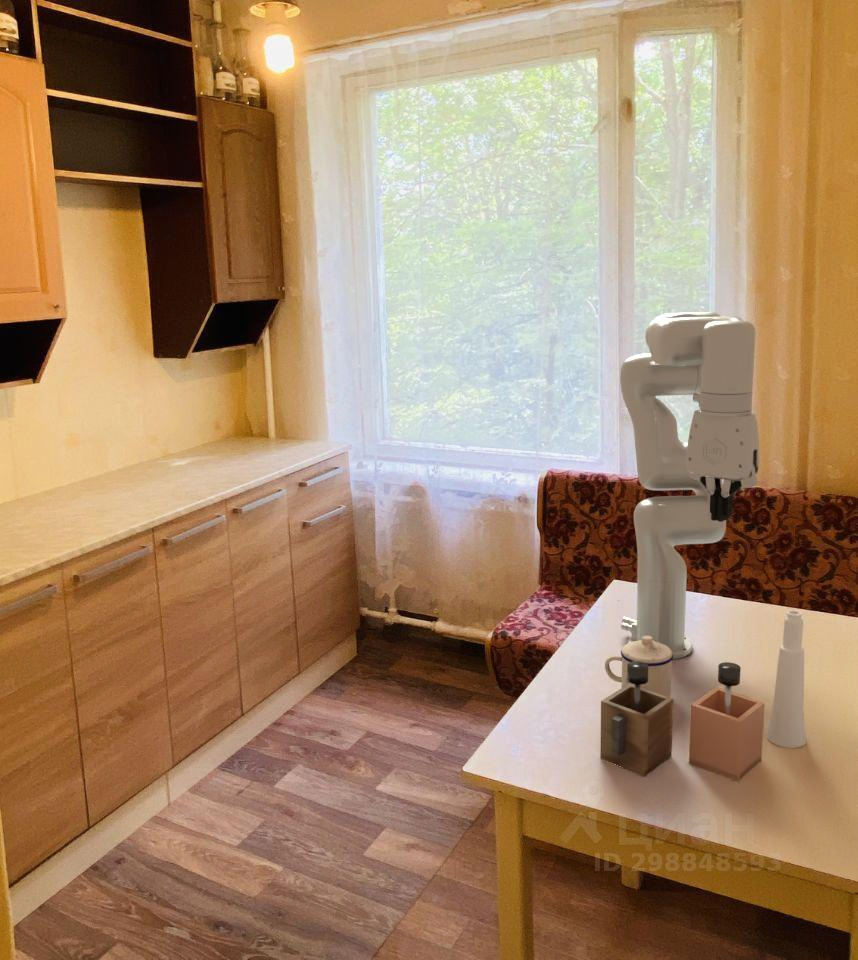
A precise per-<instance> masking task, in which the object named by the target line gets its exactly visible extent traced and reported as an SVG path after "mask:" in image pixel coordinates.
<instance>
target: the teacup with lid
mask: <svg viewBox="0 0 858 960" xmlns="http://www.w3.org/2000/svg"><path fill="white" fill-rule="evenodd" d="M673 660H674V659H673V653H672V651H671V649H670V648H669V647H667V646H666V645H664V644H662V643H658V642H655V641H653V638H652V637H651V636H643V637H642V638H641V640H639V641H633V642H630V643H628V642H627V643H626V644H625V645H624V646H623V647H622V648H621V650H620V654H618V655H617V654H614V655H610V656H608V657H607V658H606V659H605V663H604V671H605V673H606V674H607V676H608V677H609V678H610V679H611V680H612V681H615V683H616V682H617V683H621V688H623V687H624V686H626V685H628V684H632V683H630V682H628V681H627V664H628V663H630V662H633V661H640V662H644V663H646V664H648V666H649V670H648V682H647V683H646V684H642V685H640V687H641V688H644V689H647V690H650V691H652V692H655V693H658V694H661V695H664V696H667V697H670V698H672V696H671V691H672V690H671V689H672V665H673V664H672V661H673ZM613 661H618V662H621V676H617V675H616V674H614V673H613V672H612V670H611V668H610V662H613ZM632 685H635V684H632Z"/></svg>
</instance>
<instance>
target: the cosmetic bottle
mask: <svg viewBox="0 0 858 960" xmlns="http://www.w3.org/2000/svg"><path fill="white" fill-rule="evenodd" d="M802 616H803V613H802V612H801V611H798V610H793V609H792V610H791V609H790V610H787V611H786V616H785V618H784V620H783V621H784V622H783V635H782V636H783V637H782V643H781V644H780V645H779V651H778V658H777V659H778V660H777V667H776V668H777V669H776V675H775V685H774V693H773V700H772V708H771V712H770V713H771V714H770V719H769V722H768V727H767V731H766V734H765V736H766V738H767V740H768V741H769V742H771V744H774V745H777V746H779V747H782V748H786V749H797V748H801V747H803V746H805V745H806V743H807V736H806V727H805V707H804V706H805V705H804V703H805V699H804V697H805V696H804V695H805V694H804V693H805V648H804V647H803V646H802V645H803V631H804V619H803V618H802Z"/></svg>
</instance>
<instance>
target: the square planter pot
mask: <svg viewBox="0 0 858 960" xmlns="http://www.w3.org/2000/svg"><path fill="white" fill-rule="evenodd" d="M765 706H766V705H765V702H764V701H760V700H758V699H754V698H751V697H749V696H746V695H745V694H744V695H743V694H739V693H736V692H734V691H731V712H730V715H727V714H724V708H725V689H724V688H720V687H718V686H715V687H714V688H713V689H711V690H709V692H707V693H706V694H704V695H703V696H701V697H700V698H699V699H697V700H696V701H694V702H693V703H691V704H690V717H689V718H690V722H689V747H688V748H689V749H688V750H689V751H688V764H690V765H692V766H694V767H698V768H700V769H702V770H704V771H707V772H710V773H712V774H715V775H717V776H719V777H723V778H725V779H728V780H730V781H731V782H736V783H739V782H740V781H741V780H742V779H743V778H744V777H745V776H747V774H749V773H750V772H751V771H752V770H753V769H754V768H755V767H756V766H757V765H758V764H760V763H761V762H762V756H763V755H762V753H763V738H764V721H765V718H764V717H765Z"/></svg>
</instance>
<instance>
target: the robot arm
mask: <svg viewBox="0 0 858 960" xmlns="http://www.w3.org/2000/svg"><path fill="white" fill-rule="evenodd" d="M645 343H646V345H647V347H648V350H649V353H648V352H647V353H640V354H635V355H632V356H630V357H628V358H627V359H625V360H624V362H623V363H622V364H621V367H620V373H619V384H620V390H621V395H622V397H623V402H624V404H625V406H626V410H627V411H628V414H629V416H630V418H631V419H630V420H631V422H632V427H633V435H634V449H635V460H636V461H635V462H636V470H637V477H638V481H639V483H640V485H641V486H642V487H643V488H644V489H646V490H649V491H689V490H692V491H693V492H694V493H695V495H668V496H667V495H666V496H663V495H662V496H652V497H648V498H645V499H642V500H641V501H639V502H638V503H637V505H635V508H634V510H633V524H634V525H633V526H634V530H635V537H636V538H635V541H636V549H637V552H636V553H637V554H636V555H637V572H636V573H637V580H636V581H637V582H636V583H637V586H636V587H637V588H636V589H637V590H636V619H634V618H632V617H629V616H623V618H622V621H621V626H620V628H621V630H624V631H628V632H630V633H631V635H630V636H629V637H628V640H627V641H628V642H627V643H630V642H633V641H639V640H641V638H642V637H643V636H651V637H652V638H653V641H655V642H658V643H662V644H664V645H666V646H667V647H669V648H670V649H671V651H672V653H673V659H672V660H675V659H680V658H683V657H686V656H687V655H690V653H692V650H693V642H692V641H691V640H690V639H689V638H688V637H687V636H686V634H685V633H686V632H685V631H686V629H685V628H686V607H687V606H686V604H687V603H686V602H687V600H686V598H687V575H688V574H687V573H688V572H687V564H686V562H685V560H684V558H683V557H682V556H681V554H680V553H679V551H677V550H676V549H675V546H679V545H680V546H682V545H701V544H714V543H718V542H720V541H721V540H722V539H723V538H724V536H725V534H726V529H727V520H729V519H730V517H732V516H731V515H732V514H733V506H734V505H733V504H734V495H735V494H736V493H737V492H738V491H739V490H741V489H747V488H753V487H756V486H757V485H758V479H757V474H758V473H759V467H760V466H759V465H760V437H759V435H760V434H759V426H758V420H757V415H756V412H753V411H752V410H753V392H754V391H753V389H754V388H753V387H754V369H755V354H756V353H755V351H756V348H755V347H756V328H755V325H754V324H753V323H752V322H751V321H747V320H743V319H742V318H740V317H739V316H731V315H730V316H728V315H724V316H721V315H720V314H718V313H716V312H713V311H697V312H695V311H694V312H693V311H691V312H690V311H689V312H668V313H664V314H661V315H659V316H656V317H655V318H654V319H653V320H652V321H651V322H650V323H649V324H648V325H647V328H646V331H645ZM660 396H661V397H662V396H692V401H693V402H695V403H698V407H699V409H697V410H696V409H695V410H694V412H693V415H692V420H691V423H690V428H689V433H688V440H687V441H683V442H682V441H680V438H679V434H678V423H677V419H676V417H675V415H674V413H673V412H672V411H671V410H670V409H669V408H668V406H667V405H666V404H665V403H664V402H662V401H661V399H659V398H658V397H660Z"/></svg>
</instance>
